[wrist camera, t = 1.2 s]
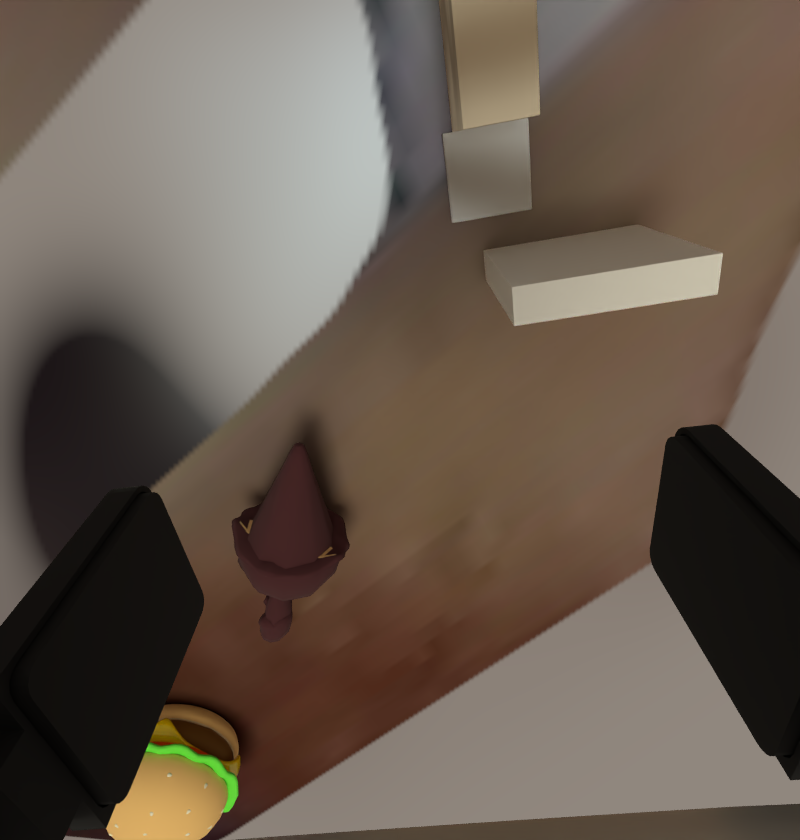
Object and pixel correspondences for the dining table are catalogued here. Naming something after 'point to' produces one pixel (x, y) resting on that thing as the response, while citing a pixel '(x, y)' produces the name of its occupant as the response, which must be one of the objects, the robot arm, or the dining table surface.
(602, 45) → the dining table surface
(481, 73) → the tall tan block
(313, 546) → the icecream
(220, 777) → the hamburger
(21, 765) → the robot arm
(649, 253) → the tile
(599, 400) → the dining table surface
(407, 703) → the dining table surface
